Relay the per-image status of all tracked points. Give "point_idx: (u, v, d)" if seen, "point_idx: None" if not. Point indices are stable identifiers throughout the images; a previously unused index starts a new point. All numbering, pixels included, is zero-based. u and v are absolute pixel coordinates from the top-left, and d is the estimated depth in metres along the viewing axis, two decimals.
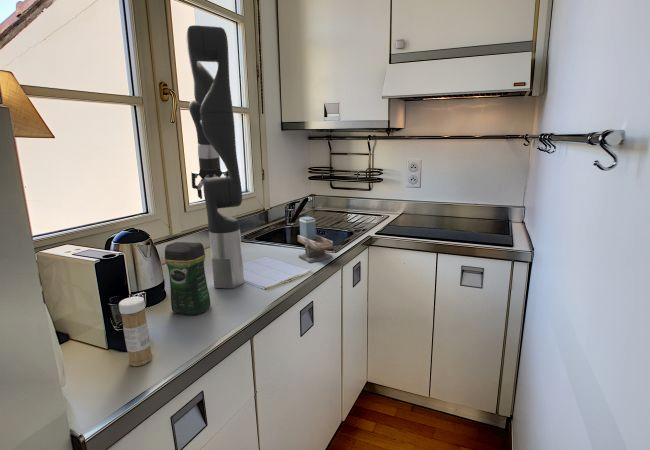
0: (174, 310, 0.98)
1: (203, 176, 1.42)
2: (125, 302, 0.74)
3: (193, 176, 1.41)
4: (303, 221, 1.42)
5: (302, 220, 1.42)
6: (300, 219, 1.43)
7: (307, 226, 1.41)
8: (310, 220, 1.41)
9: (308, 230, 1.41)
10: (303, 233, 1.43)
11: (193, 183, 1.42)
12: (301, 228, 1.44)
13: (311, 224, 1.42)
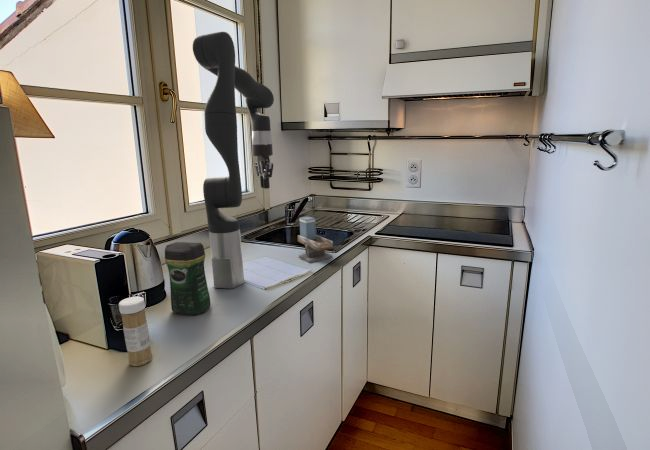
0: (174, 310, 0.98)
1: None
2: (125, 302, 0.74)
3: (255, 165, 1.52)
4: (303, 221, 1.42)
5: (302, 220, 1.42)
6: (300, 219, 1.43)
7: (307, 226, 1.41)
8: (310, 220, 1.41)
9: (308, 230, 1.41)
10: (303, 233, 1.43)
11: (257, 171, 1.52)
12: (301, 228, 1.44)
13: (311, 224, 1.42)
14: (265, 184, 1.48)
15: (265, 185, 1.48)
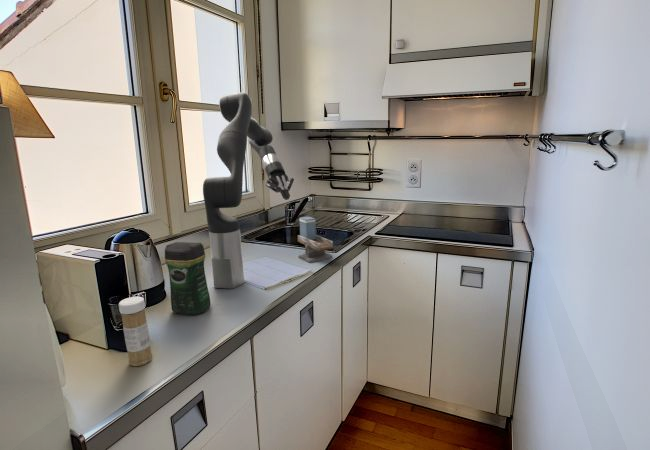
0: (174, 310, 0.98)
1: (275, 180, 1.57)
2: (125, 302, 0.74)
3: (270, 182, 1.55)
4: (303, 221, 1.42)
5: (302, 220, 1.42)
6: (300, 219, 1.43)
7: (307, 226, 1.41)
8: (310, 220, 1.41)
9: (308, 230, 1.41)
10: (303, 233, 1.43)
11: (275, 186, 1.55)
12: (301, 228, 1.44)
13: (311, 224, 1.42)
14: (288, 194, 1.55)
15: (289, 194, 1.55)
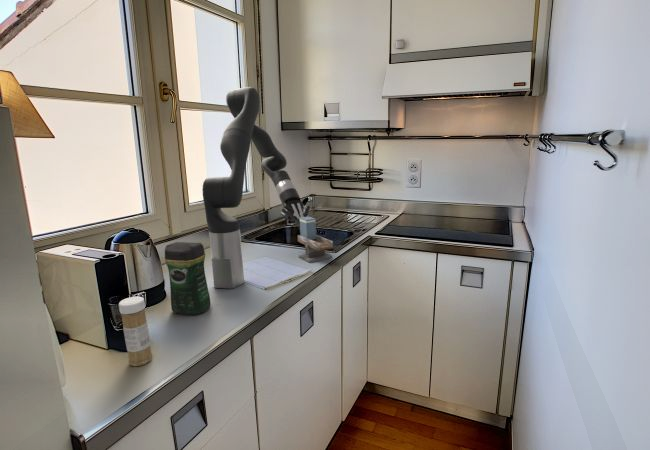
0: (174, 310, 0.98)
1: (291, 208, 1.48)
2: (125, 302, 0.74)
3: (285, 211, 1.46)
4: (303, 221, 1.41)
5: (302, 220, 1.42)
6: (300, 219, 1.43)
7: (307, 226, 1.41)
8: (310, 220, 1.41)
9: (308, 230, 1.41)
10: (303, 233, 1.43)
11: (290, 215, 1.46)
12: (301, 228, 1.44)
13: (311, 224, 1.41)
14: None
15: None
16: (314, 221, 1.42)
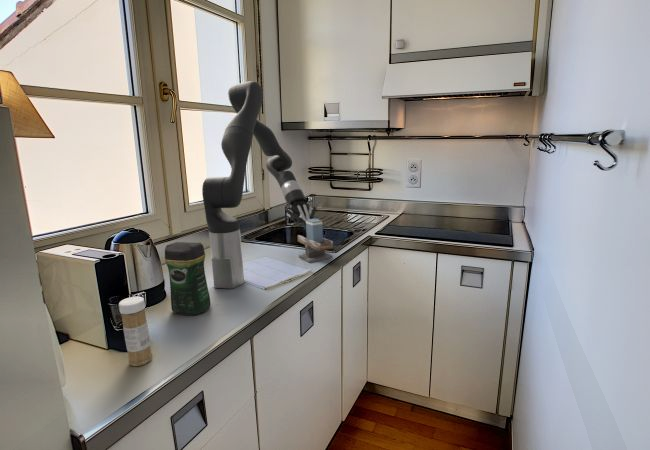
0: (174, 310, 0.98)
1: (296, 210, 1.44)
2: (125, 302, 0.74)
3: (291, 212, 1.42)
4: (310, 223, 1.37)
5: (309, 222, 1.38)
6: (307, 221, 1.39)
7: (314, 228, 1.37)
8: (317, 222, 1.37)
9: (315, 232, 1.37)
10: (309, 235, 1.39)
11: (296, 217, 1.42)
12: (308, 230, 1.40)
13: (318, 226, 1.37)
14: None
15: None
16: (321, 223, 1.38)
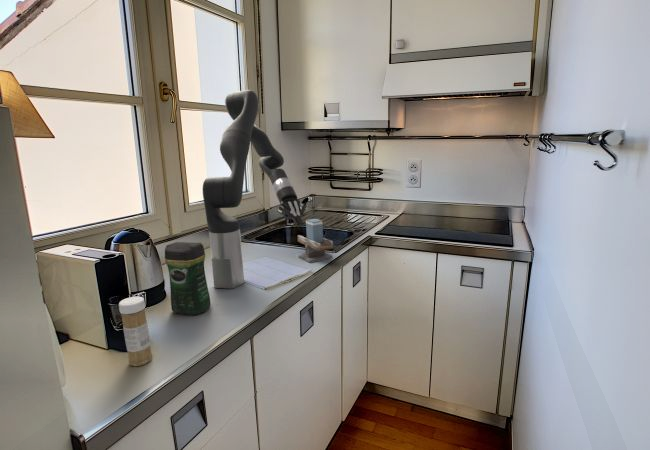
0: (174, 310, 0.98)
1: (287, 206, 1.51)
2: (125, 302, 0.74)
3: (282, 208, 1.49)
4: (310, 223, 1.37)
5: (309, 222, 1.38)
6: (307, 221, 1.39)
7: (314, 228, 1.36)
8: (317, 222, 1.37)
9: (315, 232, 1.37)
10: (309, 235, 1.39)
11: (287, 212, 1.49)
12: (308, 231, 1.40)
13: (318, 226, 1.37)
14: (301, 220, 1.50)
15: (301, 221, 1.49)
16: (321, 223, 1.38)
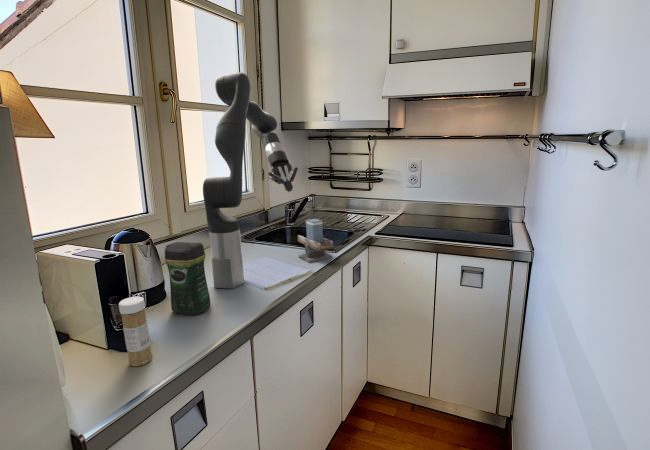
0: (174, 310, 0.98)
1: (277, 171, 1.51)
2: (125, 302, 0.74)
3: (271, 174, 1.49)
4: (310, 223, 1.37)
5: (309, 222, 1.38)
6: (307, 221, 1.39)
7: (314, 228, 1.36)
8: (317, 222, 1.37)
9: (315, 232, 1.37)
10: (309, 235, 1.39)
11: (277, 178, 1.49)
12: (308, 231, 1.40)
13: (318, 226, 1.37)
14: (291, 185, 1.50)
15: (291, 186, 1.49)
16: (321, 223, 1.38)
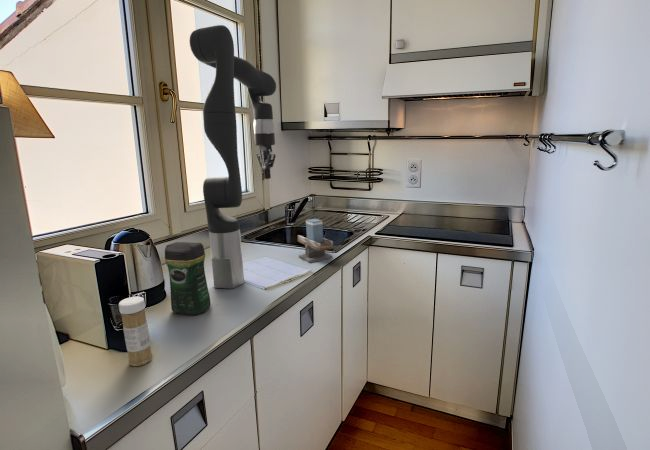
0: (174, 310, 0.98)
1: None
2: (125, 302, 0.74)
3: (257, 156, 1.48)
4: (310, 223, 1.37)
5: (309, 222, 1.38)
6: (307, 221, 1.39)
7: (314, 228, 1.36)
8: (317, 222, 1.37)
9: (315, 232, 1.37)
10: (309, 235, 1.39)
11: (259, 162, 1.47)
12: (308, 231, 1.40)
13: (318, 226, 1.37)
14: (266, 174, 1.44)
15: (266, 175, 1.44)
16: (321, 223, 1.38)
